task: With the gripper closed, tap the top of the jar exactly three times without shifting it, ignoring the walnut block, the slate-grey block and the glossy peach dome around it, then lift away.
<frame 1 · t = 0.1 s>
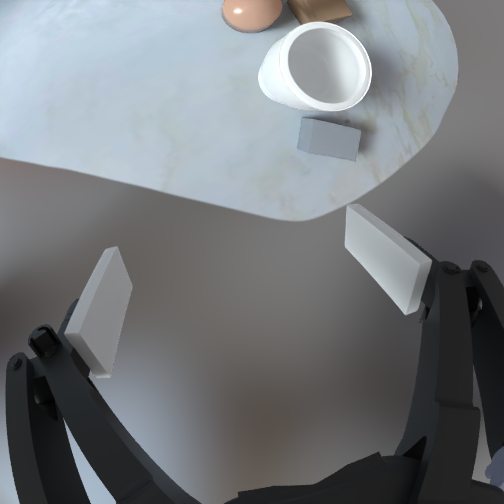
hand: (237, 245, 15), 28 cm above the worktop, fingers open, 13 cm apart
slate block: (322, 137, 40), on the worktop
walnut block: (311, 12, 29), on the worktop
glossy peach dome: (248, 12, 28), on the worktop
jar: (285, 78, 35), on the worktop
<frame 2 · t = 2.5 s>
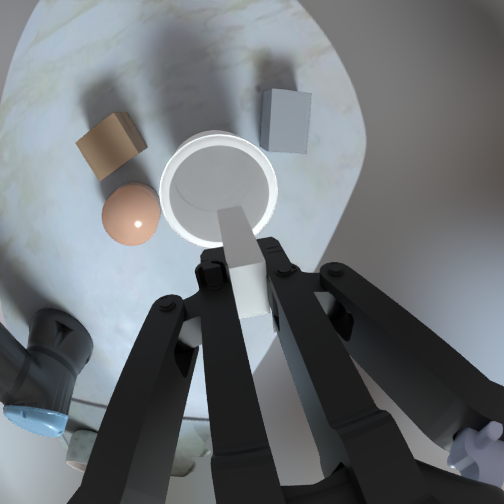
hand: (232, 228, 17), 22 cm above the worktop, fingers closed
slate block: (278, 120, 34), on the worktop
planter: (91, 434, 68), on the worktop
walnut block: (119, 141, 32), on the worktop
glossy peach dome: (135, 208, 37), on the worktop
jar: (211, 164, 36), on the worktop
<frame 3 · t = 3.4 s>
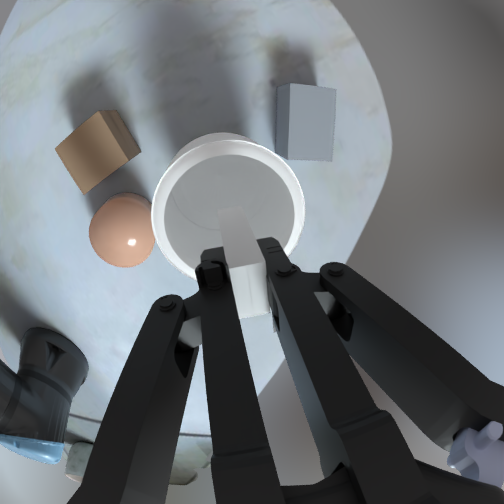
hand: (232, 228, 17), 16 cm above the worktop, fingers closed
slate block: (296, 120, 29), on the worktop
planter: (91, 446, 63), on the worktop
walnut block: (108, 145, 26), on the worktop
glossy peach dome: (128, 222, 31), on the worktop
jar: (216, 171, 31), on the worktop
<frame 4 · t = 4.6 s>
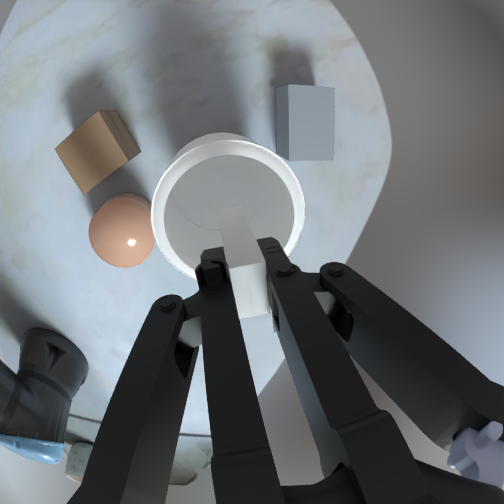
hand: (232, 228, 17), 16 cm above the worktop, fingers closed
slate block: (296, 120, 29), on the worktop
planter: (91, 446, 63), on the worktop
walnut block: (108, 145, 26), on the worktop
glossy peach dome: (127, 223, 31), on the worktop
jar: (216, 172, 31), on the worktop
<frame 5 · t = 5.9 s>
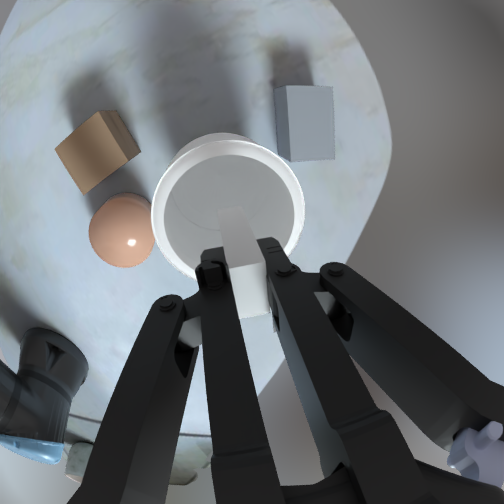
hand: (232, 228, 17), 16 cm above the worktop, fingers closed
slate block: (296, 120, 29), on the worktop
planter: (91, 446, 63), on the worktop
walnut block: (108, 145, 26), on the worktop
glossy peach dome: (127, 223, 31), on the worktop
jar: (216, 172, 31), on the worktop
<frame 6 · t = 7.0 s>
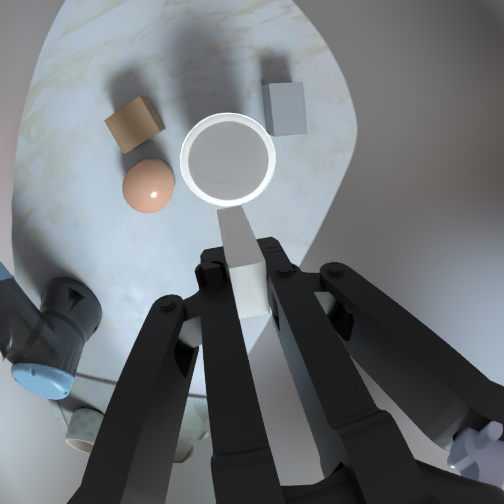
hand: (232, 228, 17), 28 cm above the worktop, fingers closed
slate block: (279, 108, 39), on the worktop
planter: (92, 413, 74), on the worktop
walnut block: (140, 123, 36), on the worktop
glossy peach dome: (151, 181, 42), on the worktop
jar: (220, 144, 41), on the worktop
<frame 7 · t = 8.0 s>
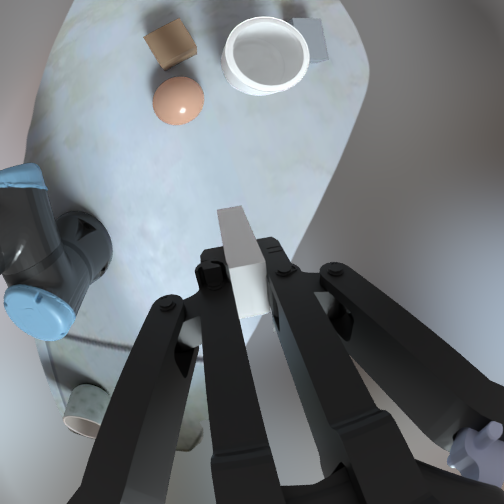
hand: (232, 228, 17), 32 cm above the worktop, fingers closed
slate block: (300, 44, 37), on the worktop
planter: (94, 391, 71), on the worktop
walnut block: (173, 49, 34), on the worktop
glossy peach dome: (180, 101, 39), on the worktop
jar: (248, 70, 39), on the worktop
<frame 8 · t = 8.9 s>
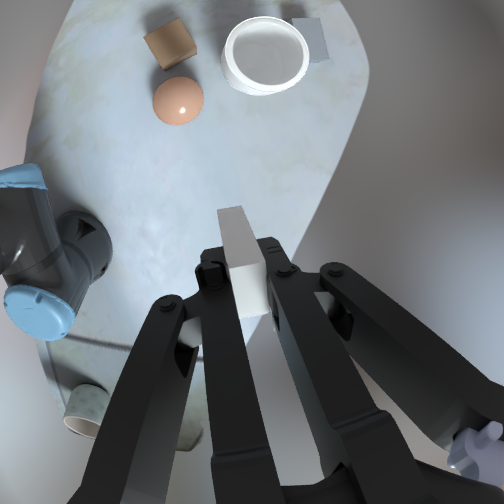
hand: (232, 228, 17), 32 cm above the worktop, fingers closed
slate block: (300, 43, 37), on the worktop
planter: (94, 391, 71), on the worktop
walnut block: (173, 49, 34), on the worktop
glossy peach dome: (179, 101, 39), on the worktop
jar: (247, 70, 39), on the worktop
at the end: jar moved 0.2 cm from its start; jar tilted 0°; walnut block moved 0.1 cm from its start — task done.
